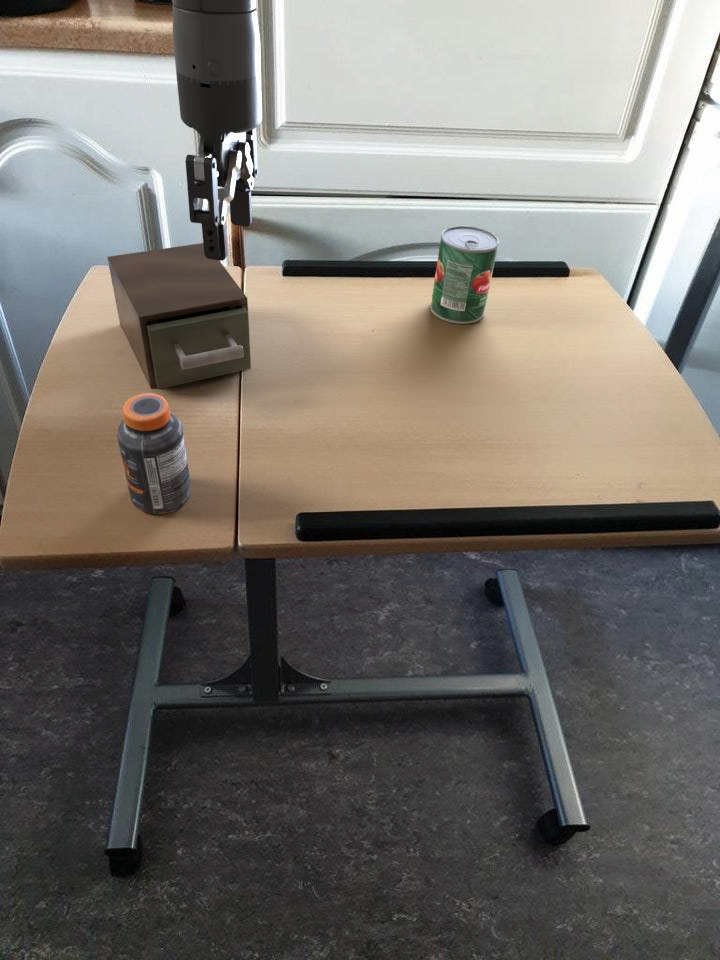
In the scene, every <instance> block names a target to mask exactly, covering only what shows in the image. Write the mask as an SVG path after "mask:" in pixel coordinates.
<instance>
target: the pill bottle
mask: <svg viewBox="0 0 720 960" xmlns="http://www.w3.org/2000/svg"><path fill="white" fill-rule="evenodd" d="M122 414H123V419H122V421H121V422H120V423H119V425H118V426H117V430H116V439H117V443H118V449H119V452H120V457H121V461H122V466H123V471H124V474H125V479H126V483H127V488H128V493H129V497H130V501H131V503H132V504H133V506H134V507H135V508H136V509H138V510H140V511H142V512H144V513H147V514H152V515H163V514H168V513H173V512H174V511H176V510H178V509H180V508H182V507H183V506H184V505H185V504H186V503H187V502H188V500H189V499H190V497H191V493H192V486H191V478H190V470H189V469H190V468H189V463H188V455H187V450H186V444H185V437H184V429H183V425H182V423H181V420H180V419H179V418H178V417H177V416H176V415H175V414H173V413H171V410H170V407H169V403H168V401H167V400H166V398H164V396H162V395H160V394H156V393H141V394H137V395H134V396H132V397H130V398H129V399H127V400H126V401H125V402H124V404H123V407H122Z"/></svg>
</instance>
